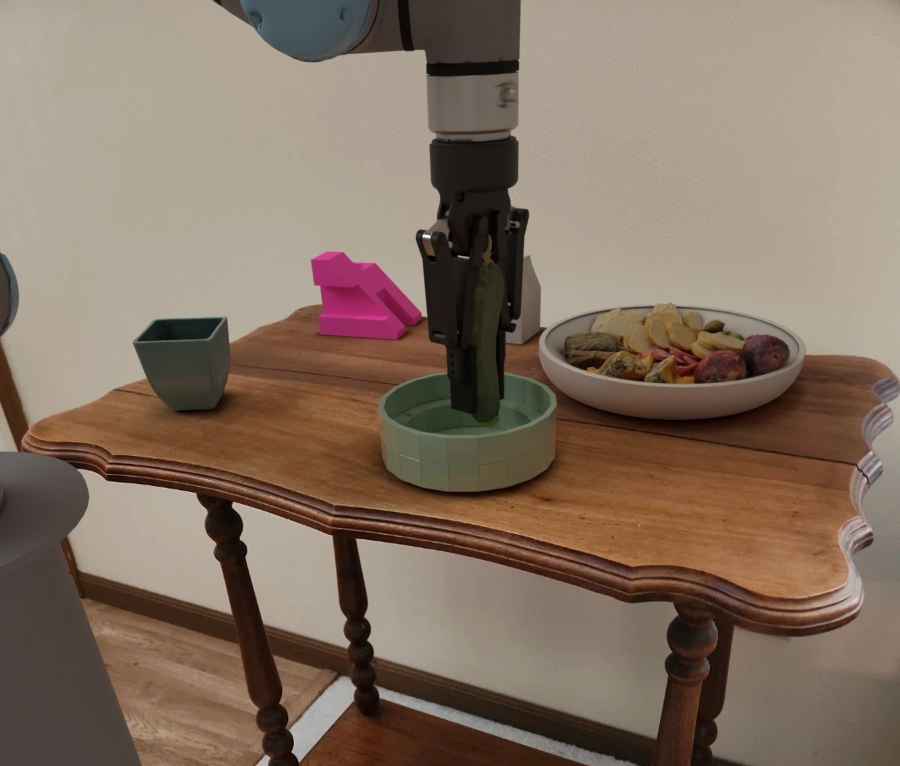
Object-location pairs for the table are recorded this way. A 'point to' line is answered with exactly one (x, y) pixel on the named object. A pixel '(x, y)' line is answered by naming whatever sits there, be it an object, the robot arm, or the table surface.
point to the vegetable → (487, 337)
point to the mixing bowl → (466, 435)
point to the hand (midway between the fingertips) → (477, 403)
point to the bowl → (671, 360)
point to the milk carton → (527, 306)
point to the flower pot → (186, 360)
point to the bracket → (360, 299)
